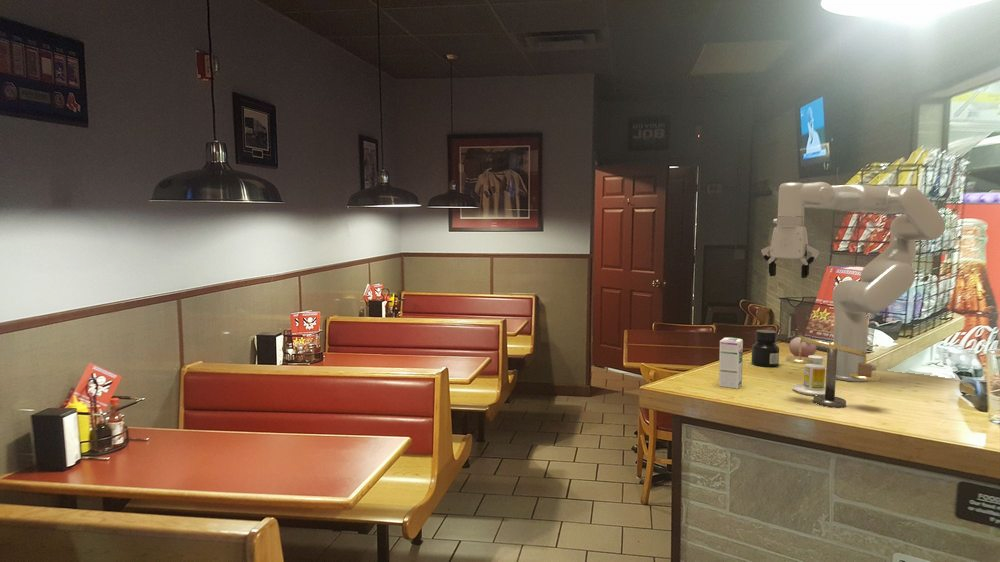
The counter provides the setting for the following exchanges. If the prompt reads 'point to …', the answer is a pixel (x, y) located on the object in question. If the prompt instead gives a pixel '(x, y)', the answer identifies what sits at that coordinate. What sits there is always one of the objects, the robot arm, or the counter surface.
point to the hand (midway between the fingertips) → (788, 276)
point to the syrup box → (730, 362)
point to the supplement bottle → (814, 374)
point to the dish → (807, 390)
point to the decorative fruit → (805, 347)
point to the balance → (834, 370)
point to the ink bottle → (765, 349)
